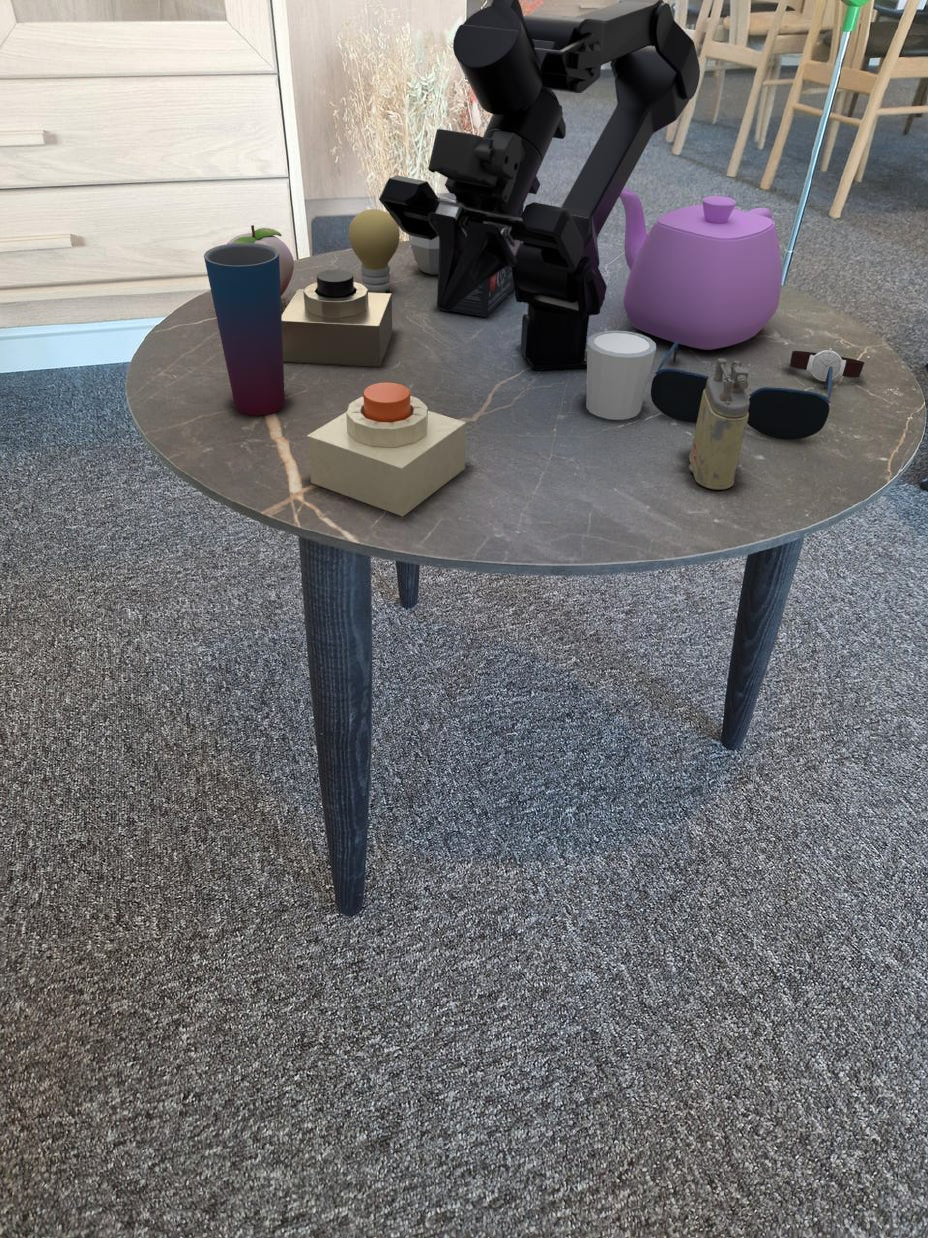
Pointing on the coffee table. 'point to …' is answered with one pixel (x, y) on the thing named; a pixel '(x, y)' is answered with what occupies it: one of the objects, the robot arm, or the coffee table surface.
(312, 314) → the beige button base
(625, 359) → the white tapered cylinder
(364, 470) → the beige button housing
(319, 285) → the button
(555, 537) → the coffee table surface
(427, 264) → the white faceted pot
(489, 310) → the small box
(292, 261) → the decorative fruit
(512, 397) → the coffee table surface
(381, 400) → the power button
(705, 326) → the teapot
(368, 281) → the light bulb
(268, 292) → the cup
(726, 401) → the lighter
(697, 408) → the sunglasses
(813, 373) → the watch
